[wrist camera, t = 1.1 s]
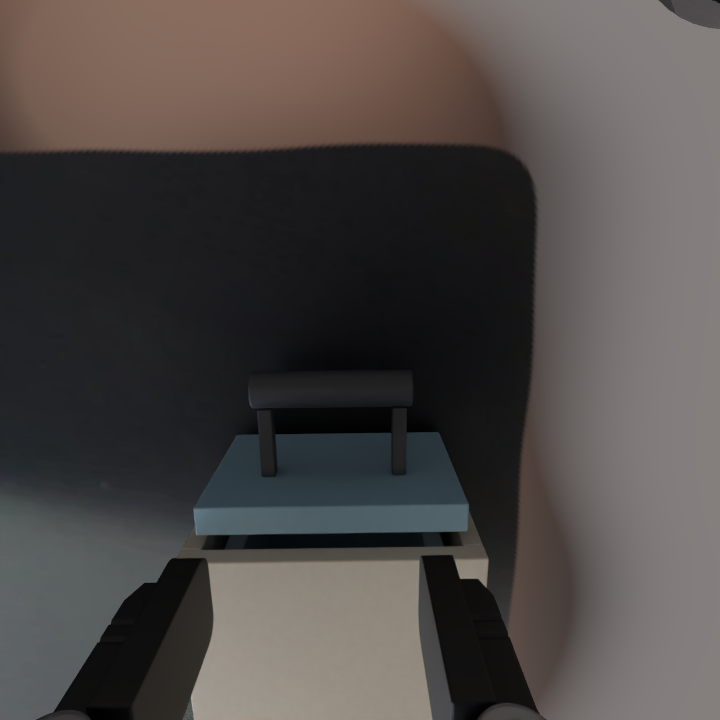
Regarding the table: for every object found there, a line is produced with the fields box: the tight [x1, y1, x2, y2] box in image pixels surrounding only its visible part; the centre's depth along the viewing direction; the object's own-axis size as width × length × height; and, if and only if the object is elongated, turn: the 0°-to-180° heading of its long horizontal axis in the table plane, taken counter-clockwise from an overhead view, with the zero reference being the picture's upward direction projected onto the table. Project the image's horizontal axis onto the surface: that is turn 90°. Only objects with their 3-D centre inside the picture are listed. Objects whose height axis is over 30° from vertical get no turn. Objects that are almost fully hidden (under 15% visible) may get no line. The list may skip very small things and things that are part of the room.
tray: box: [193, 369, 469, 550], centre depth 22 cm, size 18×10×7 cm, turn 1°
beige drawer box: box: [177, 512, 489, 720], centre depth 23 cm, size 15×12×9 cm
